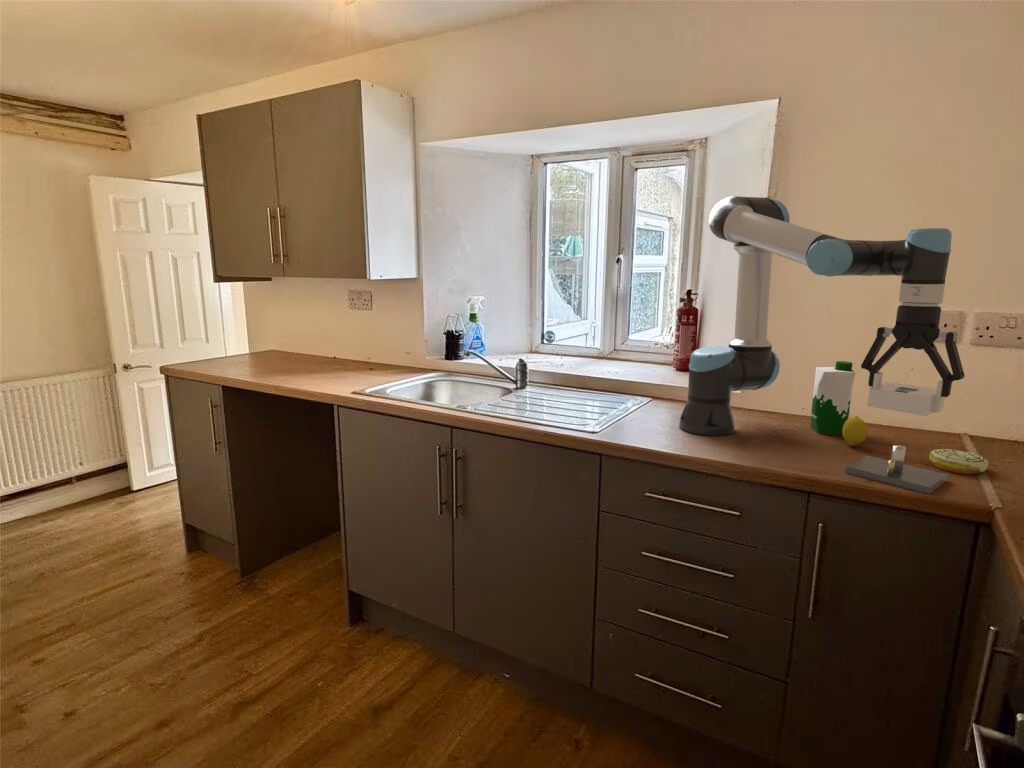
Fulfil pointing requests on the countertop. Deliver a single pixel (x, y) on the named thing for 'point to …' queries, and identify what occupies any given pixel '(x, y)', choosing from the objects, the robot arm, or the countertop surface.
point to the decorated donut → (958, 461)
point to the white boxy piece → (903, 398)
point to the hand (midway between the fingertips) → (904, 406)
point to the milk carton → (832, 398)
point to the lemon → (854, 430)
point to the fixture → (897, 472)
